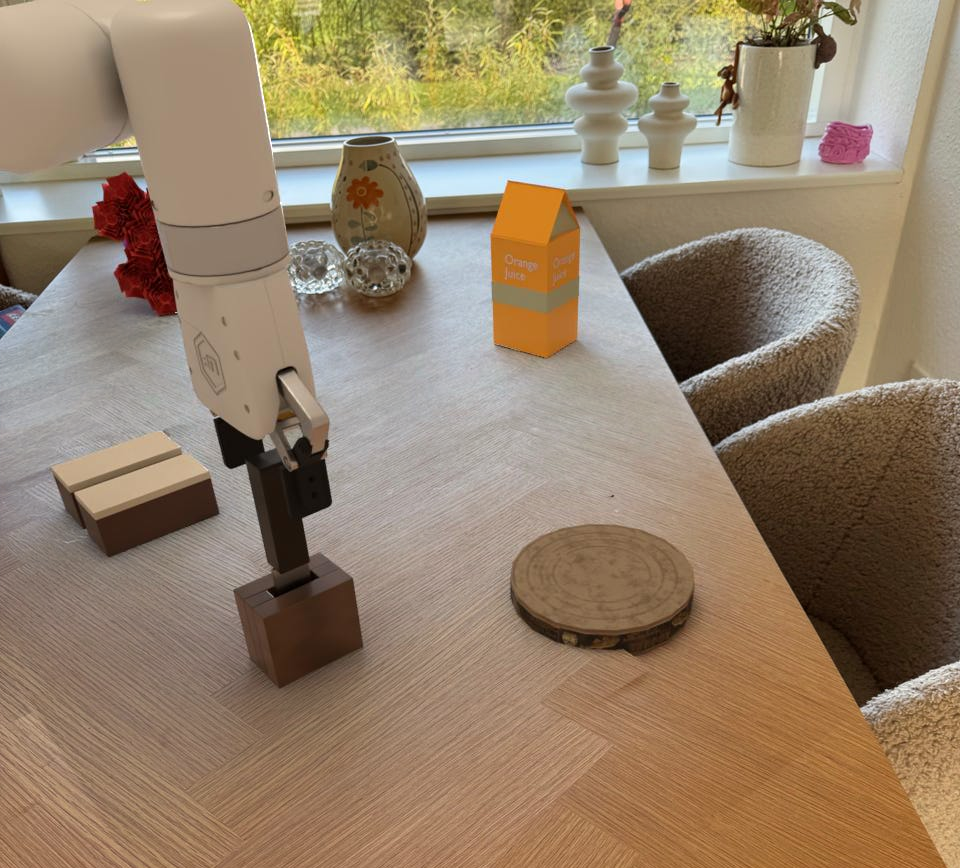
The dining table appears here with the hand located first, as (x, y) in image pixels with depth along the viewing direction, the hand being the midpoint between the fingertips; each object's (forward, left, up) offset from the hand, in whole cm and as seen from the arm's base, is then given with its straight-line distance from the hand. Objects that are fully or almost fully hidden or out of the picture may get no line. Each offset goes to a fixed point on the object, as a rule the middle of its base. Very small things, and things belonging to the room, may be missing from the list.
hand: (277, 486), depth 69 cm
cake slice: (-1, +29, -17) cm, 34 cm away
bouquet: (+30, +98, -17) cm, 104 cm away
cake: (-1, +36, -17) cm, 40 cm away
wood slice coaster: (+24, -10, -17) cm, 31 cm away
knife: (0, 0, -16) cm, 16 cm away
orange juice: (+58, +38, -17) cm, 71 cm away
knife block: (0, 0, -17) cm, 17 cm away
